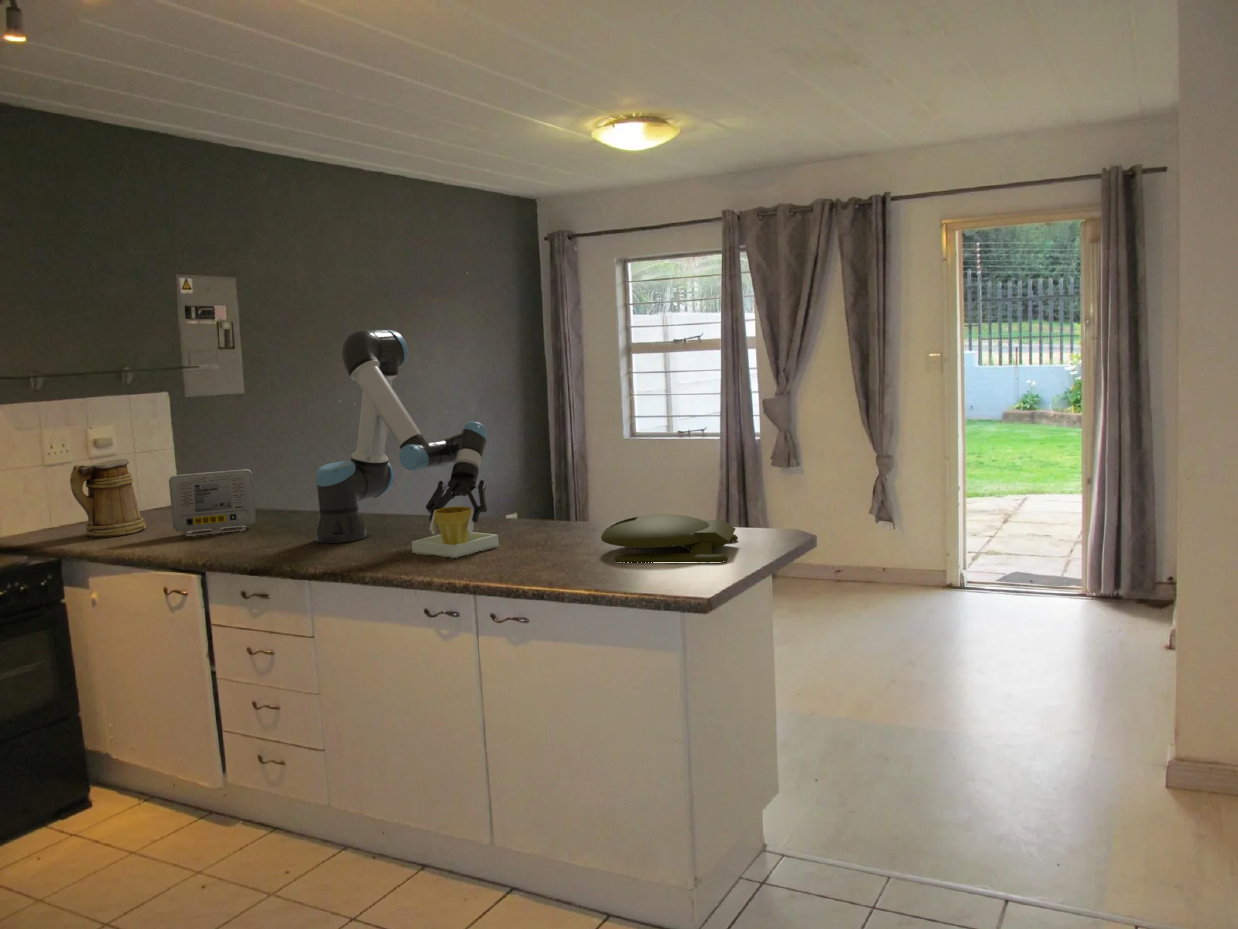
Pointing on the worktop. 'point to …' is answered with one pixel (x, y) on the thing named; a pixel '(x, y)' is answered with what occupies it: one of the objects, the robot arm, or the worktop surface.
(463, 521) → the plant pot
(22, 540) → the worktop surface
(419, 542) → the tray
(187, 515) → the network device
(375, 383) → the robot arm
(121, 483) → the tankard
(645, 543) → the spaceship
